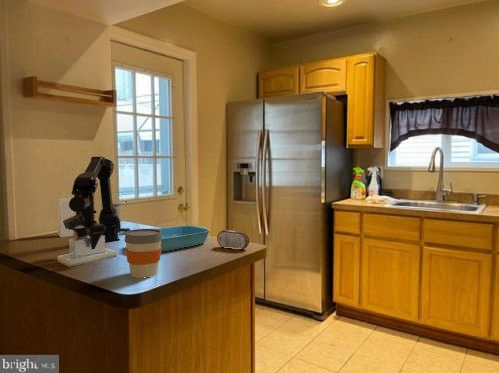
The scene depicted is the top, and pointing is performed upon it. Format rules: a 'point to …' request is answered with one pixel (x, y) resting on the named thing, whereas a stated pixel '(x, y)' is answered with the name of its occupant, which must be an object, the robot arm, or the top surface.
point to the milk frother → (117, 208)
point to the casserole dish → (182, 236)
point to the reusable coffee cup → (143, 251)
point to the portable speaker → (233, 239)
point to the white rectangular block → (85, 247)
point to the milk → (64, 215)
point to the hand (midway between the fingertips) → (87, 247)
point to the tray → (86, 258)
